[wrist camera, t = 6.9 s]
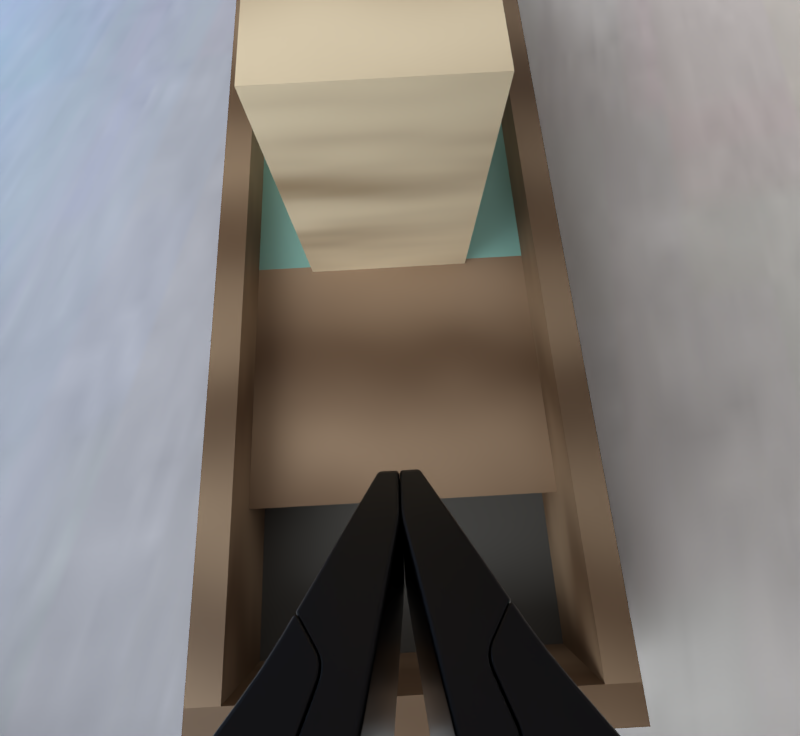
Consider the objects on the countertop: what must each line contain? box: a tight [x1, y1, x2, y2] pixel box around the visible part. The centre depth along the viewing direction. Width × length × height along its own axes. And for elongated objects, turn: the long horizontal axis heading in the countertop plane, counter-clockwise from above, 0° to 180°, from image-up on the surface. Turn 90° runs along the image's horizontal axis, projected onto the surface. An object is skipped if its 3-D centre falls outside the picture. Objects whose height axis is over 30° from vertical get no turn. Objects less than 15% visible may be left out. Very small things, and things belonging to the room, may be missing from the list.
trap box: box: [182, 0, 650, 736], centre depth 17 cm, size 31×12×4 cm, turn 3°
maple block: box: [234, 0, 514, 272], centre depth 14 cm, size 9×6×8 cm, turn 3°
